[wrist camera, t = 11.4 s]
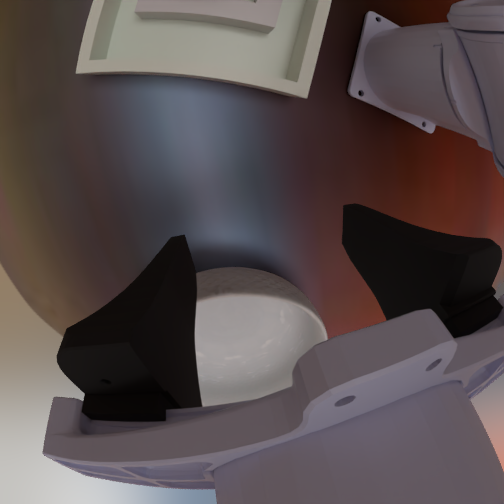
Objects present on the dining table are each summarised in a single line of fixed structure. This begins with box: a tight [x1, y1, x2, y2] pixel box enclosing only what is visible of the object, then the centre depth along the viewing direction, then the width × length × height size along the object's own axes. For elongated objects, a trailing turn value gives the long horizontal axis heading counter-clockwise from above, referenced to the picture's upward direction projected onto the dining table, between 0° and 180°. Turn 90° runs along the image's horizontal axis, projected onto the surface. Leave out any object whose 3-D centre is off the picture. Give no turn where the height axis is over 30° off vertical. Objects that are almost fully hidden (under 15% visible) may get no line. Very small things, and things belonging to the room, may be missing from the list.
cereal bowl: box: [195, 267, 328, 407], centre depth 24 cm, size 17×17×7 cm
